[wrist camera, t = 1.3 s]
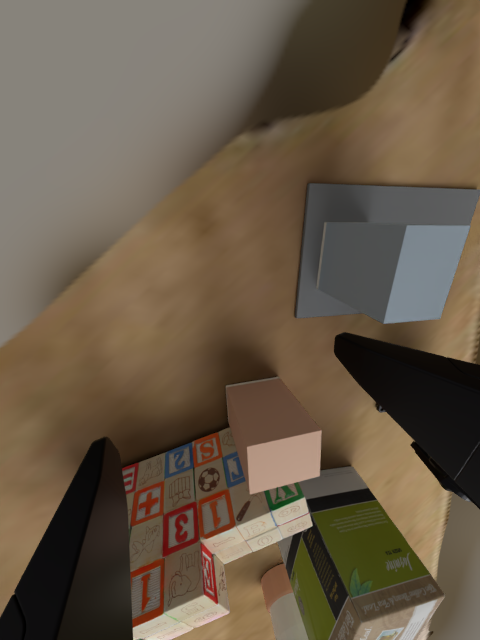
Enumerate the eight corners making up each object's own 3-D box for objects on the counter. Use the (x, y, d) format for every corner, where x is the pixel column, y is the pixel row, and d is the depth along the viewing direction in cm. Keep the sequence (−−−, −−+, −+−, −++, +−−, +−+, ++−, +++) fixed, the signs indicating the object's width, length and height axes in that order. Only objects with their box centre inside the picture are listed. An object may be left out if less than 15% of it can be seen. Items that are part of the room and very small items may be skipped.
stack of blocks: (268, 409, 29) (326, 541, 18) (278, 441, 32) (332, 568, 21) (81, 482, 27) (25, 676, 16) (111, 508, 30) (81, 683, 20)
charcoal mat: (476, 190, 25) (481, 189, 24) (439, 305, 29) (442, 306, 29) (307, 183, 21) (309, 183, 21) (294, 316, 26) (296, 318, 25)
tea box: (331, 528, 43) (400, 670, 29) (274, 539, 40) (322, 700, 27) (354, 462, 37) (452, 601, 24) (291, 471, 35) (360, 630, 21)
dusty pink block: (225, 385, 27) (246, 446, 18) (278, 376, 28) (321, 430, 20) (228, 421, 28) (249, 494, 20) (279, 411, 29) (319, 476, 21)
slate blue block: (368, 222, 23) (470, 225, 15) (357, 286, 26) (439, 318, 17) (324, 222, 22) (407, 225, 14) (316, 288, 25) (383, 323, 16)
